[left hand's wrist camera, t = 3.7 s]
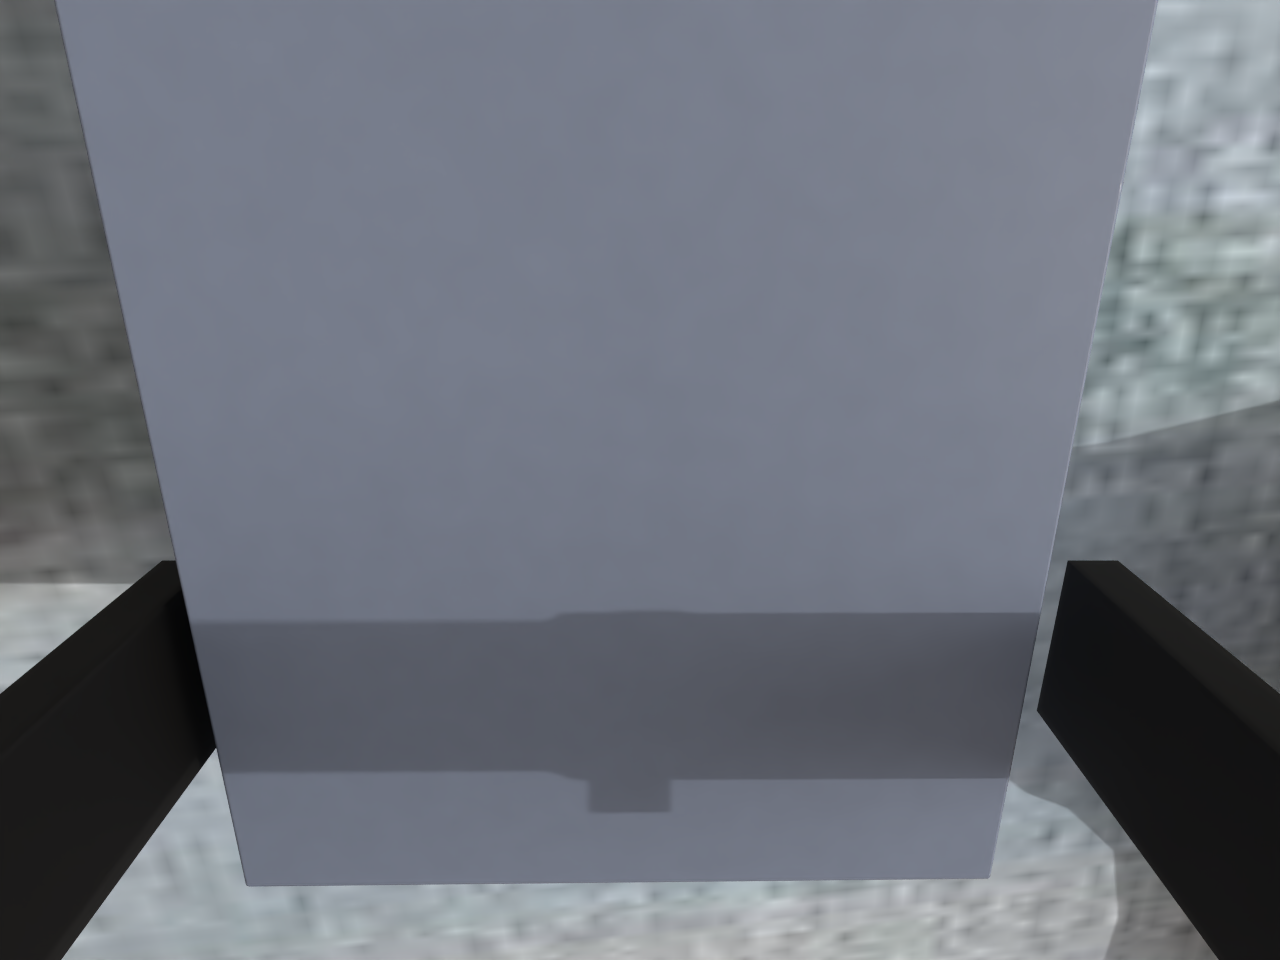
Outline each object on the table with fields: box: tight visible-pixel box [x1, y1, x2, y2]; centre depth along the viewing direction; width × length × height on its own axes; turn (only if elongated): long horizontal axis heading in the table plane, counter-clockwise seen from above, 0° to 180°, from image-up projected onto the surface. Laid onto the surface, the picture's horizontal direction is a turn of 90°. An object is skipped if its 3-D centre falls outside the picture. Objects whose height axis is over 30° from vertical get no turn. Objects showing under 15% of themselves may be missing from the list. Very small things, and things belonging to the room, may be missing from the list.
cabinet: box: [54, 0, 1158, 886], centre depth 14 cm, size 17×11×10 cm
